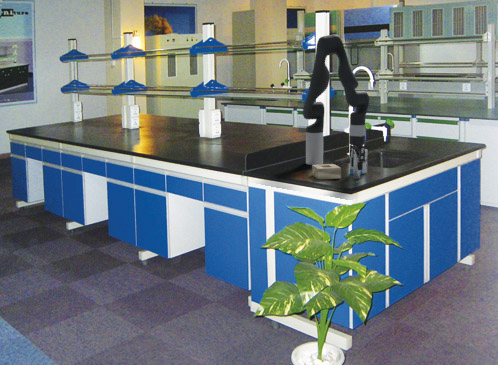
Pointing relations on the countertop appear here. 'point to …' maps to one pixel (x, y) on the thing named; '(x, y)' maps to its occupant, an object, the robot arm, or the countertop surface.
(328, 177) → the hole block
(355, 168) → the metal pin
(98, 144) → the countertop surface
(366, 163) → the ink box
